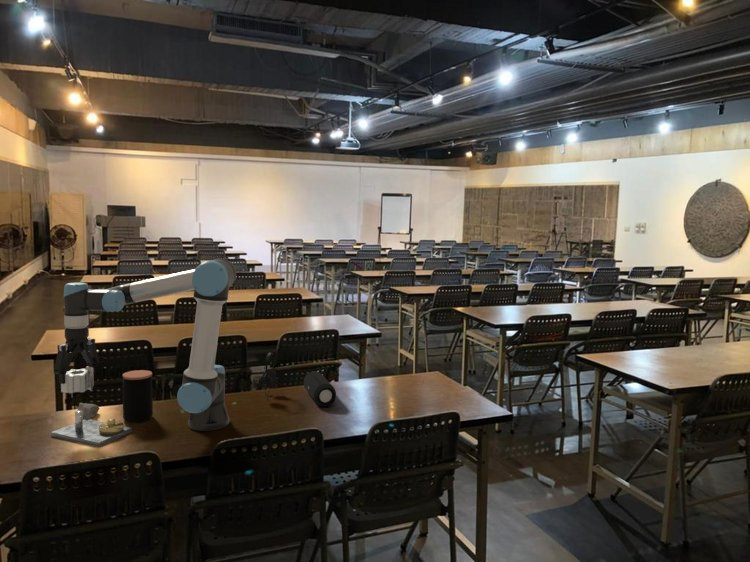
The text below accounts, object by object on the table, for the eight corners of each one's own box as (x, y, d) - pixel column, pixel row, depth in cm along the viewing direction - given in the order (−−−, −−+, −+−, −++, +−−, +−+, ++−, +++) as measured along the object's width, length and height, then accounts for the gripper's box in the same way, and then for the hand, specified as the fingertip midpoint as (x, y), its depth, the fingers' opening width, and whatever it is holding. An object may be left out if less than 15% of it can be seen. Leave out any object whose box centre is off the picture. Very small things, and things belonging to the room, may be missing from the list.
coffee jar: (158, 416, 221) (158, 372, 219) (139, 425, 211) (138, 378, 209) (137, 412, 224) (136, 368, 222) (116, 421, 214) (116, 375, 212)
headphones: (282, 403, 242) (283, 358, 239) (256, 402, 242) (257, 357, 239) (288, 392, 256) (289, 350, 254) (264, 391, 257) (264, 349, 254)
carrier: (131, 431, 204) (131, 409, 203) (98, 446, 190) (98, 422, 189) (86, 422, 212) (85, 400, 211) (51, 436, 198) (50, 413, 197)
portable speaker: (301, 391, 259) (302, 370, 258) (322, 389, 263) (323, 369, 262) (314, 409, 236) (315, 386, 234) (337, 407, 239) (338, 384, 238)
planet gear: (99, 387, 201) (99, 370, 201) (76, 394, 192) (76, 377, 192) (78, 383, 205) (78, 367, 204) (55, 390, 196) (55, 373, 195)
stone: (100, 419, 215) (99, 405, 215) (76, 422, 211) (76, 407, 211) (99, 411, 224) (99, 397, 223) (76, 414, 220) (76, 400, 220)
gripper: (94, 320, 208) (95, 378, 210) (39, 330, 187) (41, 395, 189) (110, 322, 205) (110, 381, 208) (56, 333, 184) (57, 398, 187)
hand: (77, 388), depth 199 cm, fingers closed on planet gear, 10 cm apart
